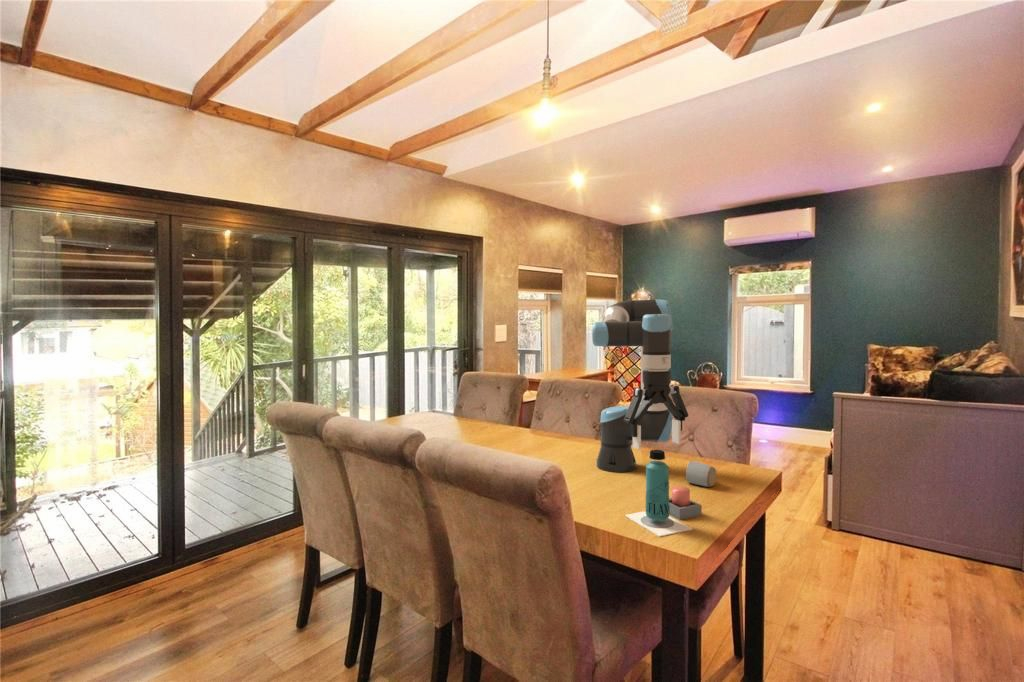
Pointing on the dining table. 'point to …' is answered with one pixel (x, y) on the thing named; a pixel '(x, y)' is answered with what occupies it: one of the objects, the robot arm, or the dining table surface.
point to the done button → (680, 496)
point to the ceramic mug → (700, 474)
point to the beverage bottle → (657, 487)
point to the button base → (685, 510)
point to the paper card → (658, 524)
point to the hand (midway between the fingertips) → (656, 445)
